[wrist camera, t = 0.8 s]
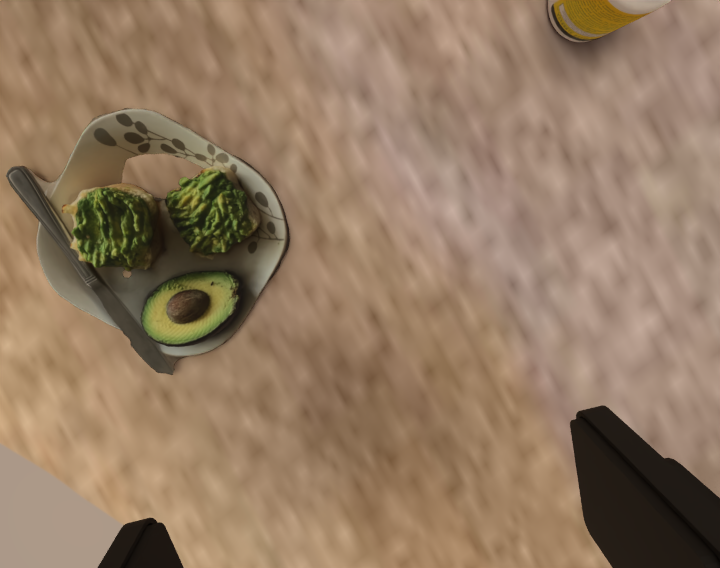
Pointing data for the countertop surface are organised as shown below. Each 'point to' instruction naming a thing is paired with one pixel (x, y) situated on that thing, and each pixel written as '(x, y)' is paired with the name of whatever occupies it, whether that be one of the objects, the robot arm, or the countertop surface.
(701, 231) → the countertop surface
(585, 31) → the supplement bottle
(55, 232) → the salad plate
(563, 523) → the countertop surface
